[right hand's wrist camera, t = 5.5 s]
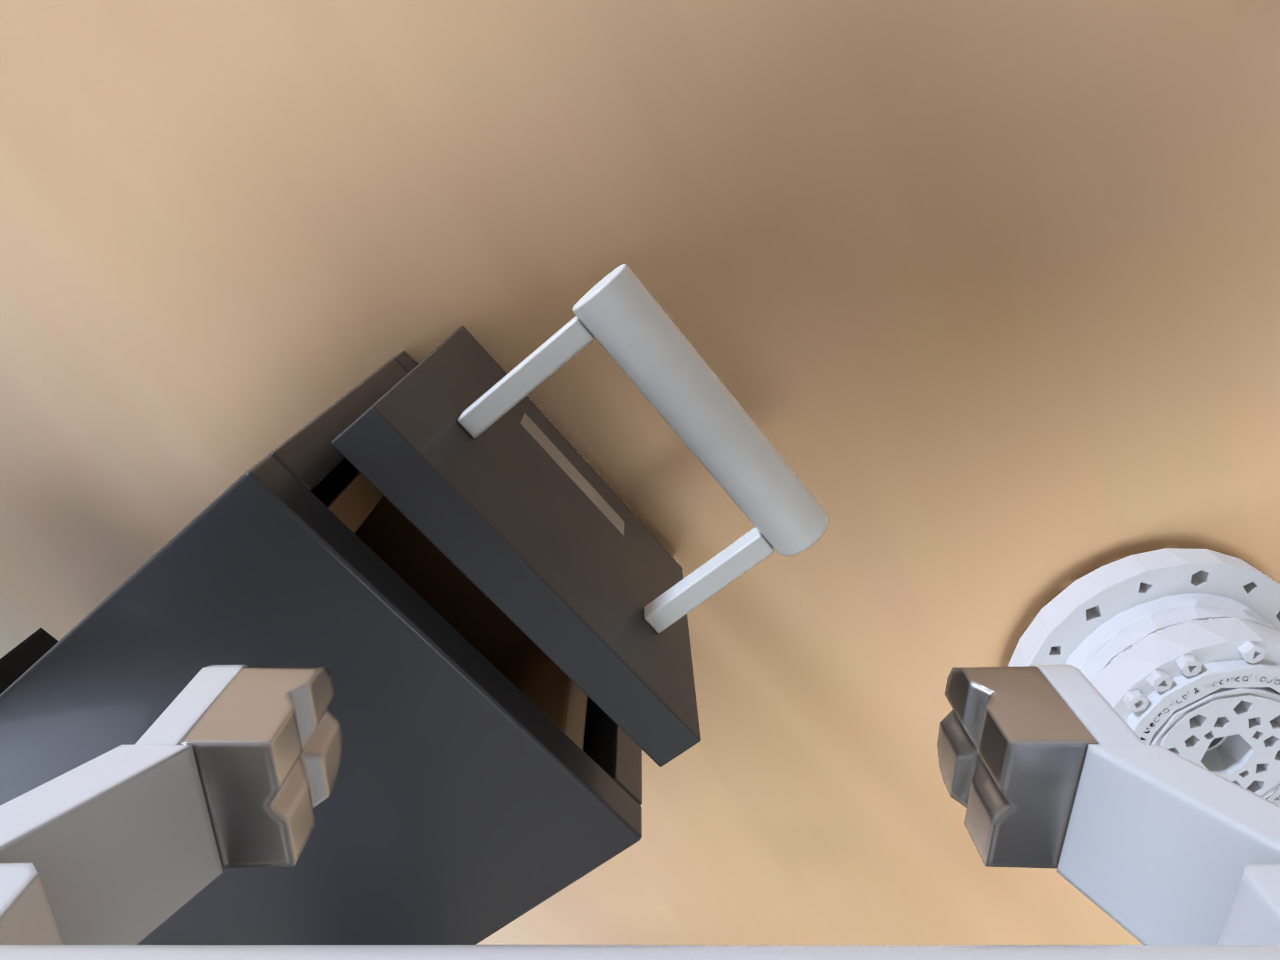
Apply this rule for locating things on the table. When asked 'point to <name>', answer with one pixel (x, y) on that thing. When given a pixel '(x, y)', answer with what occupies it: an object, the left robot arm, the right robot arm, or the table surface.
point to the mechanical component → (1177, 655)
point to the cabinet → (363, 704)
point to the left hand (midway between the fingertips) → (201, 800)
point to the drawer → (563, 516)
